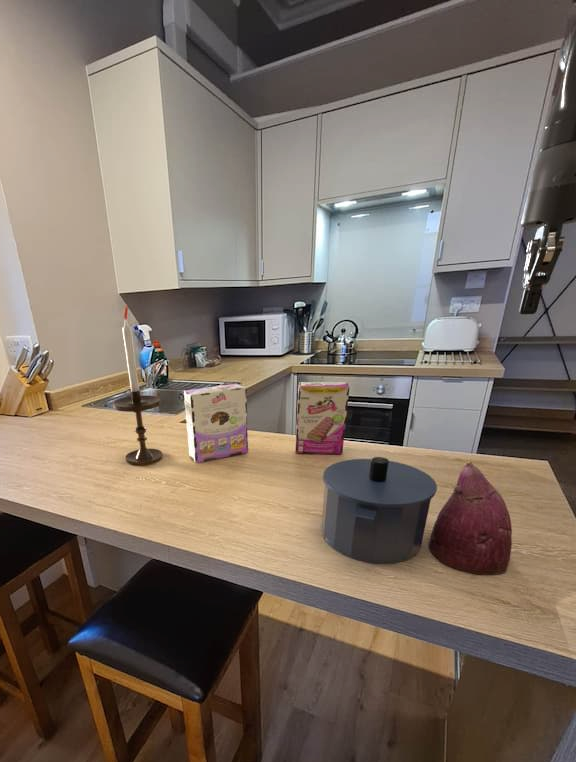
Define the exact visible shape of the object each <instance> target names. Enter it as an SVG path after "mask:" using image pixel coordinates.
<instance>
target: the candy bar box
mask: <svg viewBox="0 0 576 762" xmlns="http://www.w3.org/2000/svg"><path fill="white" fill-rule="evenodd" d="M297 391H298V392H297V411H296V427H295V429H296V430H295V454H311V455H314V454H315V455H343V449H344V442H345V441H344V440H345V433H346V424H347V423H346V422H347V414H348V406H349V404H348V403H349V397H350V385H349V383H348V382H347V381H306V382H305V381H300V382H298V389H297Z"/></svg>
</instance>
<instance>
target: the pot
mask: <svg viewBox="0 0 576 762" xmlns="http://www.w3.org/2000/svg"><path fill="white" fill-rule="evenodd" d="M323 489H324V490H323V499H322V500H323V503H322V515H321V527H320V528H321V535H322V537H323V539H324V541H325V542H326V543H327V545H328V546H329V547H331V548H332V549H333V550H335V551H336V552H338V553H339V554H341V555H343V556H344V557H345V556H346V557H347V558H350V559H353V560H356V561H360V562H364V563H369V564H377V565H378V564H380V565H390V564H398V563H402V562H405V561H409V560H410V559H412V558H414V557H415V556H416V555H417V554H418V553H419V552H420V550H421V548H422V543H423V539H424V533H425V529H426V524H427V519H428V515H429V511H430V505H431V502H432V501H431V500H432V498H431V499H430V500H428V501H427V502H424V503H422V504H418V505H414V506H408V507H379V506H372V505H366V504H361V503H357V502H354V501H351V500H348V499H345V498H343V497H341V496H339V495H337V494H335V493H333V492H332V491H331V490H329V489H328V488H327V487H326V485H325V484H324V488H323Z"/></svg>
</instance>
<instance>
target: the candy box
mask: <svg viewBox="0 0 576 762" xmlns="http://www.w3.org/2000/svg"><path fill="white" fill-rule="evenodd" d="M247 400H248V399H247V386H244V385H243V384H239V383H230V384H222V385H216V386H209V387H200V388H194V389H186V390H183V401H184V411H185V425H186V434H187V435H186V436H187V447H188V455H189V457H190V458H191V459H192V461H193V462H194V463H195V464H199V463H203V462H207V461H213V460H214V461H215V460H218V459H223V458H228V457H233V456H238V455H243V454H248V453H249V436H248V433H249V432H248V405H247V404H248V403H247Z"/></svg>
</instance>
